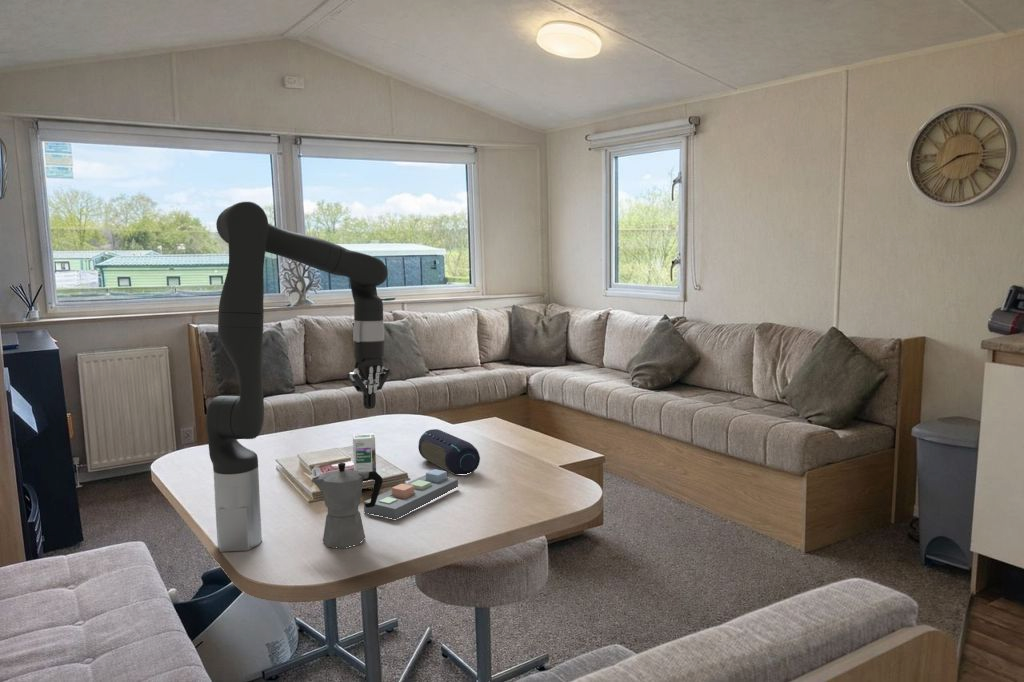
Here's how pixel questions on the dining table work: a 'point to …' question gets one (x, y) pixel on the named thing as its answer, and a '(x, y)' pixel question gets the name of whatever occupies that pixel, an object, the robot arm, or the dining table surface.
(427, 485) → the sage button
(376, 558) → the dining table surface
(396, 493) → the terracotta button
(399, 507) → the button panel
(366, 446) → the syrup box
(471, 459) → the portable speaker
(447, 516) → the dining table surface
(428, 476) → the slate button
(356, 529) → the coffeepot
